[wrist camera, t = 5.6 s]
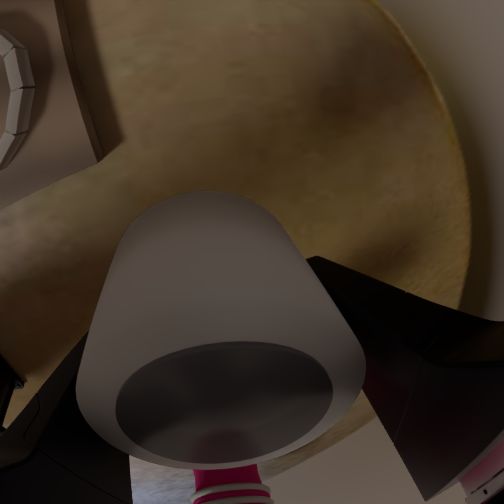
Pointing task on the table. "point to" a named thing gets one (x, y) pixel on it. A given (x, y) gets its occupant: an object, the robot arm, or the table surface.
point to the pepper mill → (230, 486)
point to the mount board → (40, 101)
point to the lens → (214, 340)
